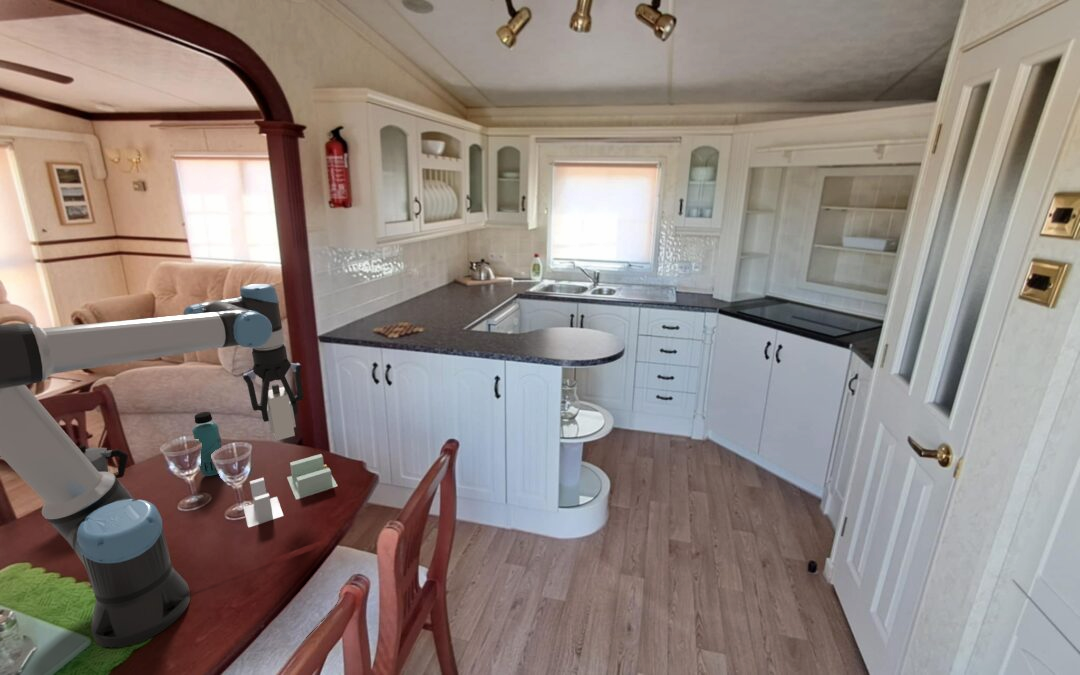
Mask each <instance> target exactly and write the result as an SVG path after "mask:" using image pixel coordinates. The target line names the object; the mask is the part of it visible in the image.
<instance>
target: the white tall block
mask: <svg viewBox="0 0 1080 675" xmlns="http://www.w3.org/2000/svg"><path fill="white" fill-rule="evenodd" d="M289 402H290V399H289V397H288V394H287V392H286V390H285V388H284V386H282V387H280V385H279V384H276V383H275V384H273V385H271V389H269V392H268V403H267V407H268V406H269V409H270V412H271V417H272V423H273V428H274V433H272V434H273V436H274V438H275V441H279V440H280V441H281V440H284V439H288V438H291V437H295V436H296V435H295V434H296V433H295V429H294V428H295V427H293V421H292V415H291V410H290V404H289Z"/></svg>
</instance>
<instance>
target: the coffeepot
mask: <svg viewBox="0 0 1080 675" xmlns="http://www.w3.org/2000/svg"><path fill="white" fill-rule="evenodd" d="M77 447H78V448H79V449H80V450H81V452H82V453H83V454H84V455H85V456H86V458H87V459H88V460H89V461H90V462H91V463H92V465H93V466H94V467H95V468H96V469H97V471H98V472H109V466H108V465H109V464H108V459H112V458H115V457H118V467H117V471H118V473H117V474H114V476H115V477H116V478H117V479H121V478H124V476H125V472H126V468H127V467H126V466H127V462H128V457H129V456H128V453H126V452H125V451H123V450H121V449H109V450H107V447H97V446H96V447H89V448H86V445H85V444H82V445H79V446H77Z"/></svg>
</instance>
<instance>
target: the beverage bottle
mask: <svg viewBox="0 0 1080 675" xmlns="http://www.w3.org/2000/svg"><path fill="white" fill-rule="evenodd" d="M212 420H213V416H212V413H211V412H210V411H203V412H200V413H199V412H198V413H196V414H195V415H194V423H195V424H197V425H195V426H194V427H193V429H192V431H191V432H192V434H193V439H199V441H200V442H201V443H202V449H201V466H200V465H199V471H200V474H201V475H202V476H204V477H209V476H210V477H211V476H215V475H219V474H218V473H217V470H216V468H215V466H214V464H213V462H212V459H211V454H212V453H213V452H214V451H215V450H217V449H219V448H221V447H223V445H222V437H221V435H220V434H221V433H220V431H219V425H218V424H217V423H216V422H213V421H212Z"/></svg>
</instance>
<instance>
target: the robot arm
mask: <svg viewBox="0 0 1080 675" xmlns="http://www.w3.org/2000/svg"><path fill="white" fill-rule="evenodd" d="M277 294H278V293H277V290H276V288H275V287H274V285H271V284H268V283H254V284H247V285H244V286H241V288H239V296H234V297H231V298H225V299H223V298H222V299H219V300H218V299H217V300H213V301H212V300H211V301H206V302H204V301H201V302H199V303H195V304H191V305H188V306H186V307H185V308H184V310H183V314H178V315H169V316H167V315H166V316H158V317H148V318H137V319H136V318H135V319H127V320H115V321H107V322H105V321H104V322H97V323H96V322H95V323H84V324H75V325H73V324H72V325H64V326H63V325H62V326H55V327H54V326H53V327H45V328H43V327H42V328H41V327H39V326H36V325H35V324H32V323H30V322H28V323H27V322H26V323H18V324H17V323H16V324H0V458H2V460H4V461H5V462H6V463H7V464H8V466H9V467H10V468H11V469H12V470H13V471H15V473H16V474H17V475H18V476H19V477H20V478H21V479H22V480H23V481H24V482H25V483H26V484H27V485H28V486H29V487H30V488H31V489H32V490H33V491H34V492H35V493H36V495H38V497H40V499H42V501H44V504H43V505H42V506H43V507H42V508H41V514H42V517H44V519H45V520H46V521H47V522H48V523H49V524H50V525H51V526H52V527H53V528H54V530H56V531H57V532H58V533H59V534H60V535H61V537H63V538H64V539H65V540H66V541H67V543H68V544H69V546H70V547H71V548H72V549H73V551H74V553H75V554H76V555H77V557H78V558H79V560H80V561H81V562H82V564H83V566H84V568H85V570H86V572H87V575H88V579H89V582H90V585H91V588H92V591H93V594H94V597H95V603H94V609H93V614H92V619H91V626H90V628H91V630H90V631H91V634H92V636H93V640H94V641H95V643H96V644H97V645H98V646H100V647H102V646H103V647H102V648H106V647H121V648H125V647H124V646H126V647H129V646H128V645H130V646H133V644H134V645H136V644H140V643H143V642H145V641H147V640H148V639H151V638H153V637H155V636H156V635H158V634H159V633H161V632H163V631H165V630H167V628H169V627H170V626H172V625H173V624H174V623H175V622H176V621H177V620H179V618H180V617H182V615H183V614H184V613H185V611H186V610H187V608H188V606H189V605H190V604H189V603H190V601H191V592H190V589H189V588H190V587H189V585H188V583H187V581H186V580H185V579H184V578H183V577H182V576H181V575H180V574H179V573H178V571H177V570H175V568H174V567H173V564H172V561H171V558H170V557H171V556H170V552H169V548H168V544H167V540H166V535H165V532H164V528H163V519H162V517H161V514H160V512H159V510H158V508H157V507H156V506H155V504H153V502H150V501H147V500H144V499H139V498H138V499H137V500H136V499H135V497H133V496H132V494H131V493H130V492H129V491H128V490H127V488H126V487H124V485H123V484H122V483H121V481H120V480H119V478H116V477H115V476H114V475H115V474H114V473H113V472H110V471H108V472H98V471H97V469H96V468H95V467H94V466H93V465H92V463H91V462H90V461H89V460H88V459H87V458H86V456H85V455H84V454H83V453H82V452H81V450H80V449H79V448H78V447H79V446H77V445H76V443H75V442H74V441H73V439H72V438H71V437H70V436H69V435H68V434H67V433H66V432H65V430H64V429H63V428H62V427H61V426H60V424H59V423H58V422H57V421H56V420H55V418H54V417H53V416H52V415H51V414H50V413H49V411H48V410H47V409H46V408H45V407H44V405H42V403H41V402H40V401H39V400H38V398H37V397H36V396H35V394H34V393H33V392H32V391H31V390H30V389H29V387H28V386H27V385H32V384H38V383H42V382H43V383H44V382H45V381H46V380H47V379H48V378H50V376H52V375H53V374H54V375H55V374H62V373H67V372H73V371H81V370H85V369H92V368H99V367H105V366H111V365H118V364H119V365H120V364H125V363H131V362H138V361H144V360H151V359H152V360H153V359H157V358H165V357H171V356H176V355H177V356H178V355H184V354H189V353H195V352H202V351H209V350H210V351H211V350H216V349H221V348H230V347H236V346H241V347H243V348H252V349H251V355H252V360H253V367H252V370H250V371H247V372H243V373H242V375H241V376H242V378H243V380H244V382H245V383H246V385H247V389H248V393H249V394H248V395H249V398H250V403H251V407H252V410H253V411H255V412H257V411H261V417H262V420H263V422H265V423H266V422H268V427H269V431H270V433H271V434H273V433H274V428H273V423H272V417H271V412H270V409H269V406H268V404H267V403H268V392H269V390H270V383H271V382H274V381H280V382H281V384H282V387H284V388H285V390H286V392H287V394H288V398H289V404H290V410H291V415H292V421H293V427H294V428H296V427H297V425H296V420H295V415H297V414H298V413H299V410H298V405H297V404H298V402H300V401H303V400H304V392H303V384H302V377H301V372H302V369H303V368H302V367H303V366H302V365H301V363H300V362H295V363H293V362H290V360H289V359H288V354H287V353H288V352H287V346H286V344H284V343H285V340H286V339H285V336H284V329H283V325H282V324H283V323H282V317H281V312H280V305H279V303H280V302H279V299H278V298H279V297H278V295H277ZM290 368H291V372H293V378H294V385H295V392H296V394H295V395H294V393H293V390H292V389H291V388H292V387H290V385H289V382H288V379H287V378H286V374H287V373H288V372H289V370H290ZM255 375H256V376H257V377H259V378H260V379H261V393H260V403H258V400H257V399H258V398H257V395H256V391H255V386H254V383H253V381H254V379H255Z"/></svg>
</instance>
